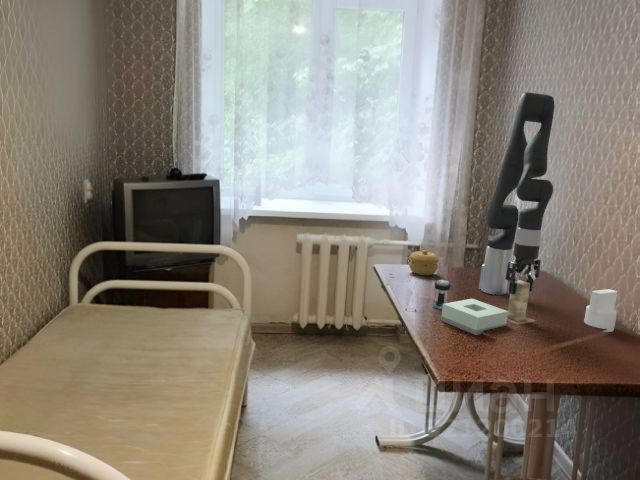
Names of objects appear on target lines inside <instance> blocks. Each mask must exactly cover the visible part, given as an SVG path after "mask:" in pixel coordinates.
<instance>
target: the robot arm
mask: <svg viewBox="0 0 640 480" xmlns="http://www.w3.org/2000/svg"><path fill="white" fill-rule="evenodd" d="M554 114H555V98H554V97H553V96H552V95H550V94H545V93H544V94H543V93H536V92H528V91H527V92H524V93H522V94H521V96H520V98H519V101H518V103H517V108H516V111H515V116H514V121H513V125H512V129H511V133H510V138H509V141H508V144H507V148H506V150H505V154H504V157H503V160H502V164H501V167H500V171H499V176H498V179H497V183H496V186H495V189H494V191H493V194H492V197H491V199H490V202H489V204H488V207H487V210H486V214H485V224H486V227H487V228H489V229H493V230H502V231H501V232H499V233H498V234H496V235H494V236H490V237H488V239H487V240H486V248H485V249H486V250H485V257H484V263H483V264H482V265H481V269H480V276H479V283H478V290H480V289H481V290H480V291H482V292H484V293H486V294H491V295H495V294H496V295H495V296H497V295H498V296H502V295H506V294H507V290H508V293H509V295H510V294H513V295H514V294H516V290H517V282H518V280H520V278H522V277H523V276H526V281H525V282H527V283H530V288H529V293H531V292H533V288H534V281H535V280H536V278H537V279H538V278H539V277H540V271H541V262H542V261H541V259H538V258H539V254H540V253H539V252H540V248H541V247H540V246H541V240H542V226H543V218H544V215H545V211H546V209H547V206H548V205H549V202H550V201H551V198H552V196H553V193H554V186H553V183H552V181H551V180H548V179H540V177H541V178H542V177H543V176H545V175H546V174H547V171H548V153H549V151H548V150H549V142H550V138H551V137H550V136H551V133H552V125H553V121H554V120H553V119H554ZM526 122H531V123H536V124H537V123H538V124H540V128H539V130H538V131H537V133H536V134H535V135H534V136H533V137H532V139H530V141H529V142H528V141H527V138H526V135H525V134H526V133H525V124H526ZM514 190H515V191H516V197H517V198H518V199H519V200H520V201H522V202H534V203H537V204H536V206H534V207H530V208H529V207H528V208H523V209H521V210H520V211H519V208H518V207H517V205H514V204H507V203H505V201H506V199H507V198H508V196H509V195H510V194H511V193H512V192H513V191H514ZM513 245H514V246H513ZM512 254H513V257H515V260H514V261H511V260H512ZM508 281H509V286H508ZM507 288H508V289H507Z"/></svg>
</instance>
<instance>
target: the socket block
mask: <svg viewBox="0 0 640 480" xmlns="http://www.w3.org/2000/svg"><path fill="white" fill-rule="evenodd" d="M507 315H508V310H506V309H504V308H503V309H502V308H500V307H498V306H494V305H491V304H489V303H487V302H484V301H480V300H479V299H478V300H477V299H475V298H467V299H462V300H456V301H452V302H447V303H445V304H443V307H442V309H441V316H440V321H441V322H444V323H445V324H448V325H451V326H453V327H455V328H458V329H460V330H463V331H464V332H468V333H469V334H472V335H475V336H478V335H482V334H488V332H487V331H488V330H491V329H492V330H493V329H496V328H500V327H505V326H507Z"/></svg>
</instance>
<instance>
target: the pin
mask: <svg viewBox="0 0 640 480" xmlns="http://www.w3.org/2000/svg"><path fill="white" fill-rule="evenodd" d="M529 288H530V283H527V282H526V281H523V280H520V279H519V280H518V282H517V290H516V294H514V295H513V294H510V293H509V299H508V307H507V311H508V315H507V317H508V318H510V319H513V320H516V321H520V320H524V319H525V317H526V316H527V315H526V313H527V307H528V302H529V294H530V292H529Z"/></svg>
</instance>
